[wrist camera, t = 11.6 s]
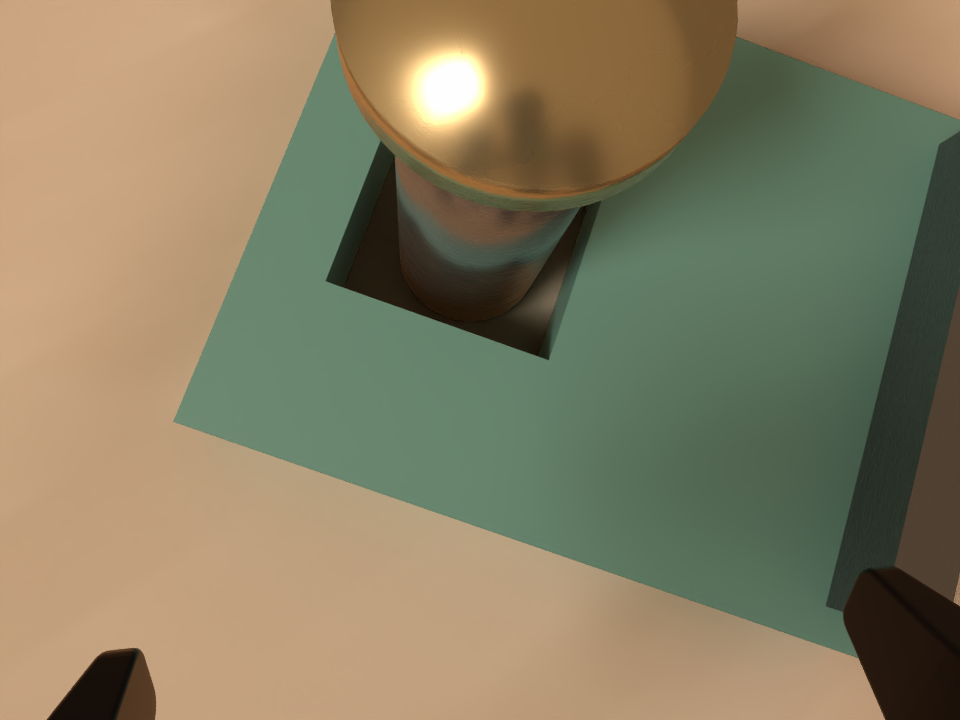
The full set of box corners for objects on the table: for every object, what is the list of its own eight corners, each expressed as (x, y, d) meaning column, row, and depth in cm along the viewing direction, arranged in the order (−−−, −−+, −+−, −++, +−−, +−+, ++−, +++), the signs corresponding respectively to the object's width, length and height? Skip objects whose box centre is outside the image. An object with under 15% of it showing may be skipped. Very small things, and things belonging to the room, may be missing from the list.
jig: (943, 178, 26) (1083, 100, 20) (831, 644, 23) (958, 696, 17) (390, -26, 25) (384, -162, 20) (205, 428, 22) (139, 414, 17)
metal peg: (600, 252, 24) (815, -3, 11) (474, 386, 23) (553, 273, 10) (464, 127, 24) (525, -262, 11) (333, 254, 23) (239, -18, 10)
